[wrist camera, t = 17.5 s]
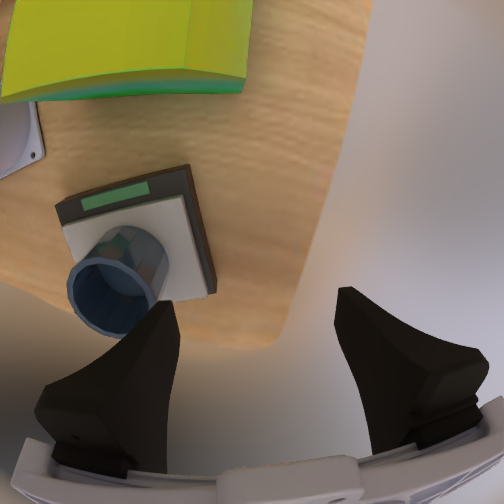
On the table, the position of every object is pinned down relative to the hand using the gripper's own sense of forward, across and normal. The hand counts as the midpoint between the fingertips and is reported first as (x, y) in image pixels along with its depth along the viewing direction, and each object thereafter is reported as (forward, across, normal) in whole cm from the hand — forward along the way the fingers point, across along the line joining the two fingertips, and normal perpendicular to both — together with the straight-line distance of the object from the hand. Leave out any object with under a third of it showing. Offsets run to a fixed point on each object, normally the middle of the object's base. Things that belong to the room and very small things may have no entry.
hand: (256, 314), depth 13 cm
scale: (+10, +8, 0) cm, 12 cm away
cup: (+7, +8, +1) cm, 11 cm away
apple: (+10, +5, -15) cm, 18 cm away
